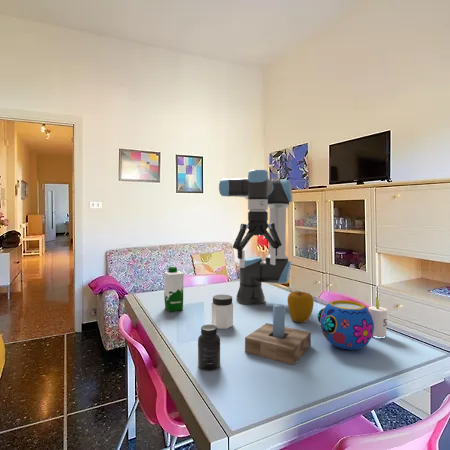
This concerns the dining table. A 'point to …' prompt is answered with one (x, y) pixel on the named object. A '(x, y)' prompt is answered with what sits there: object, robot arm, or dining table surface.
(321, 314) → the ceramic pot
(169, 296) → the milk carton
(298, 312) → the apple
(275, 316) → the dowel
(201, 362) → the supplement bottle
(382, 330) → the candle
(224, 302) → the jar
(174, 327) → the dining table surface
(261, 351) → the socket block
